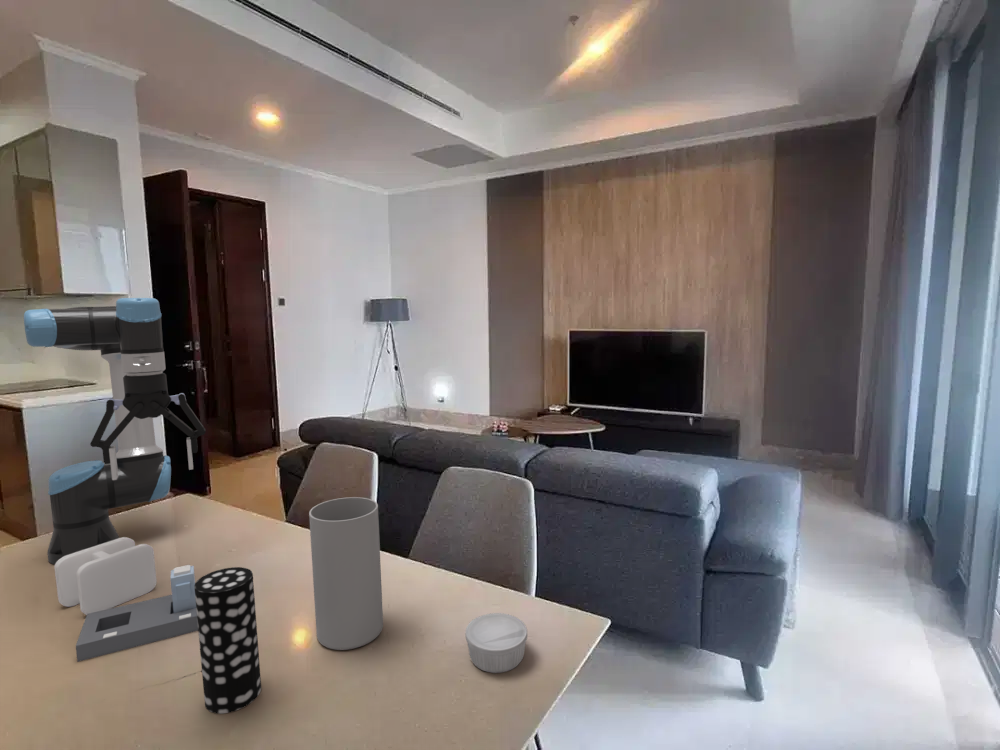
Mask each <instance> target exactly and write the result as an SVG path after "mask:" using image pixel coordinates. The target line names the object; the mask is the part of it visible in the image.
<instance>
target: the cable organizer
mask: <svg viewBox="0 0 1000 750" xmlns="http://www.w3.org/2000/svg"><path fill="white" fill-rule="evenodd" d="M53 566H54V567H53V568H54V575H55V582H56V583H55V584H56V593H57V598H58V599H57V600H58V603H59V604H60V605H62V606H64V607H66V608H69V607H74V606H77V605H79V608H80V612H81V613H83V614H84V615H86V616H87V614H89V613H93V612H98V611H102V610H106V609H111V608H115V607H119V606H121V605H123V604H125V603H127V602H130V601H132V600H134V599H137V598H139V597H141V596H144V595H146V594H148V593H151V592H152V591H153V590H154V589H155V588H156V586H157V583H158V582H157V572H156V571H157V570H156V561H155V553H154V547H153V546H152V545H149V544H147V543H140V544H137V545H136V542H135V540H134V539H133V538H129V537H126V536H123V537H122V536H121V537H119V538H118V539H115V540H112V541H109V542H106V543H103V544H100V545H97V546H94V547H90V548H87V549H84V550H81V551H78V552H75V553H72V554H69V555H66V556H64V557H62V558H60V559H59V560H58V561H57V562H56V564H54V565H53Z"/></svg>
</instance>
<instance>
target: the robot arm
mask: <svg viewBox="0 0 1000 750" xmlns="http://www.w3.org/2000/svg"><path fill="white" fill-rule="evenodd" d="M160 306H161V305H160V302H159V300H158V299H156V298H154V297H123V298H122V297H120V298H117V300H116V302H115V306H114V305H113V306H110V305H109V306H75V307H69V308H39V309H28V310H25V312H24V313H23V325H24V332H25V339H26V343H27V345H29V346H31V347H34V348H35V347H36V348H37V347H40V348H41V347H43V348H50V347H51V348H52V347H54V348H58V349H66V350H72V351H100V357H101V358H102V359H104V360H105V361H106V362H108V366H109V375H110V384H111V393H112V397H110V398H109V399H107V401H106V404H105V406H106V407H105V412H104V414H103V417H102V419H101V421H100V423H99V425H98V427H97V429H96V431H95V432H94V433H95V434H94V435H93V437H92V439H91V441H90V444H89V445H90V447H92V448H100V449H101V450H102V458H103V460H99V459H98V460H97V459H96V460H95V459H94V460H88V461H81V462H78V463H75V464H70V465H68V466H65V467H61V468H60V469H57V470H56V471H54V472H53V473H52V474H51V475H50V476H49V477H48V492H47V493H48V494H47V495H49V499H50V511H51V518H52V519H51V520H52V526H53V527H52V528H53V531H52V534H51V538H50V542H49V544H48V547H47V548H48V549H47V560H48V563H50V564H52V565H55V564H56V562H57V561H58V560H59V559H60V558H62V557H64V556H66V555H69V554H72V553H75V552H78V551H81V550H84V549H87V548H90V547H94V546H97V545H100V544H103V543H106V542H109V541H112V540H115V539H118V538H120V535H119V533H118V532H117V530H116V529H115V526H114V525H113V523H112V521H111V519H110V516H109V510H110V509H111V510H112V509H116V508H121V507H126V506H131V505H136V504H141V503H142V504H143V503H146V502H147V503H150V502H153V501H155V500H160V499H163V498H166V497H167V496H168V494H169V492H170V488H171V480H172V479H171V478H172V477H171V476H172V466H171V457H170V456H169V455H164V450H163V449H162V448H160V447H159V446H158V445H157V444H156V435H155V428H154V427H155V425H154V418H155V419H156V418H158V417H161V416H162V417H164V418H165V419H167V420H168V421H169V422H171V423H172V424H173V425H174V426H175V427H177V428H178V429H179V431H182V432H183V433H184V434H185V435H186V436H188V437H186V449H187V461H188V470H189V471H190V470H191V471H192V470H194V462H193V461H194V460H193V454H197V453H198V437H201V436H204V435H205V434H206V428H205V427H204V425H203V424H202V422H201V421H200V419H199V418H198V417H197V415H196V414H195V412H194V411H193V409H192V408H191V406H190V405H189V404H188V401H187V399H186V395H185V393H184V392H180V393H179V394H175V395H170V394H169V391H168V381H167V374H166V373H165V372H164V371H165V370H166V358H165V351H164V342H163V340H164V339H163V329H162V328H163V327H162V313H161V309H160V308H161V307H160ZM171 402H174V404H175V405H178V406H180V408H181V409H182V411H183V412H184V414H185V415H186V416H187V418H188V419H189V421H190V422H191V423H192V425H193V426H194V428H195V429H196V430H194V429H193V428H191V427H190V426H189V425H188V424H187V423H185V422H184V420H182V419H180V418H179V416H177V415H175V414H174V412H173V411H171V410H170V409H169V407H168V406H169V405H170V403H171ZM113 416H114V419H115V429H114V430H113V431H112V432H111V433H110V435H108V437H107V438H106V439H105V440H103V439H102V438H103V437H104V434H105V432H106V429H107V427H108V426H109V424H110V421H111V419H112V417H113ZM116 439H117V447H118V451H116V445H112V444H113V442H115V440H116Z"/></svg>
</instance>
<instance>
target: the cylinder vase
mask: <svg viewBox="0 0 1000 750" xmlns="http://www.w3.org/2000/svg"><path fill="white" fill-rule="evenodd" d="M308 514H309V515H308V517H309V533H310V547H311V548H310V549H311V551H310V552H311V563H312V564H311V566H312V582H313V583H312V584H313V585H312V586H313V596H314V614H315V615H314V616H315V630H316V638H317V641H318V642H319V643H320V644H321V645H322V646H323V647H326V648H327V649H329V650H338V651H345V650H348V651H349V650H352V649H357V648H360V647H363V646H365V645H368V644H369V643H371V642H372V641H374V640H375V639H376V638H377V637H378V636H379V635H380V634H381V632H382V630H383V627H384V614H383V612H384V611H383V610H384V608H383V593H382V592H383V590H382V586H383V585H382V571H381V569H382V568H381V545H380V544H381V543H380V525H379V520H380V519H379V504H378V502H376V501H375V500H374V499H372V498H371V499H370V498H368V497H359V496H358V497H357V496H352V497H341V498H334V499H328V500H326V501H323V502H320V503H318V504H317V505H315V506H312V508H311V509H309V512H308Z"/></svg>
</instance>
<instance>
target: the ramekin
mask: <svg viewBox="0 0 1000 750" xmlns="http://www.w3.org/2000/svg"><path fill="white" fill-rule="evenodd" d="M464 635H465V640H466V643H467V648H468V652H469V653H468V654H469V658H470V660H471V662H472V663H473V664H474V666H475V667H477V668H478V669H479V670H481V671H484V672H487V673H491V674H500V673H506V672H509V671H512V670H513V669H515V668H516V667H517V666H518V665H519V664H520V663H521V662H522V660H523V658H524V656H525V649H526V642H527V640H528V628H527V626H526V624H525V623H524V622H523V620H521V619H520V618H518V617H517V616H514V615H512V614H509V613H501V612H493V613H487V614H482V615H480V616H477V617H475V618H474V619H472V620H471V621H470V622H469V623H468V624H467V626H466V628H465V633H464Z"/></svg>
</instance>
